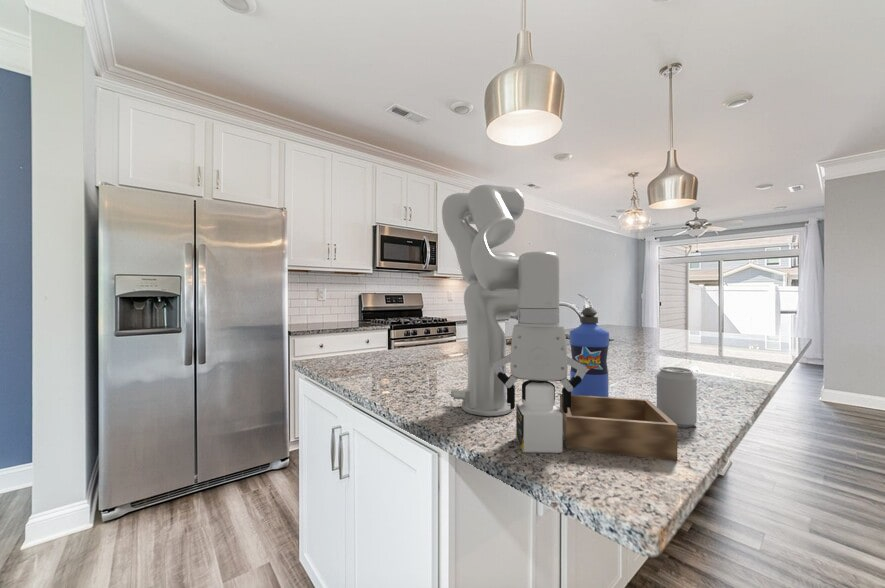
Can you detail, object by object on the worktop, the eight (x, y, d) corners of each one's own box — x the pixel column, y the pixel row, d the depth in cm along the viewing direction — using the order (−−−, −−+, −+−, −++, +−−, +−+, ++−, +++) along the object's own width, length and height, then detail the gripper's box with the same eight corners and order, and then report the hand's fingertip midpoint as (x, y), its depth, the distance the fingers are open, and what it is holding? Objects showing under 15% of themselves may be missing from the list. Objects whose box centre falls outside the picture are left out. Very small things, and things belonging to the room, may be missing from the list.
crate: (566, 449, 67) (566, 416, 67) (559, 420, 83) (559, 394, 83) (677, 460, 63) (677, 425, 63) (648, 427, 78) (648, 399, 78)
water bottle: (570, 399, 99) (570, 307, 99) (608, 403, 96) (608, 307, 96) (568, 409, 91) (568, 308, 91) (610, 414, 87) (610, 308, 87)
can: (703, 430, 77) (703, 372, 77) (664, 427, 79) (664, 371, 79) (687, 418, 85) (687, 366, 85) (651, 416, 86) (651, 364, 86)
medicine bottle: (515, 437, 73) (516, 377, 73) (552, 438, 73) (552, 377, 73) (522, 453, 66) (522, 385, 66) (563, 453, 65) (563, 386, 66)
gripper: (490, 318, 68) (490, 411, 68) (590, 320, 64) (590, 419, 64) (494, 316, 75) (493, 400, 75) (584, 317, 71) (584, 406, 71)
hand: (538, 409), depth 69 cm, fingers open, 9 cm apart
